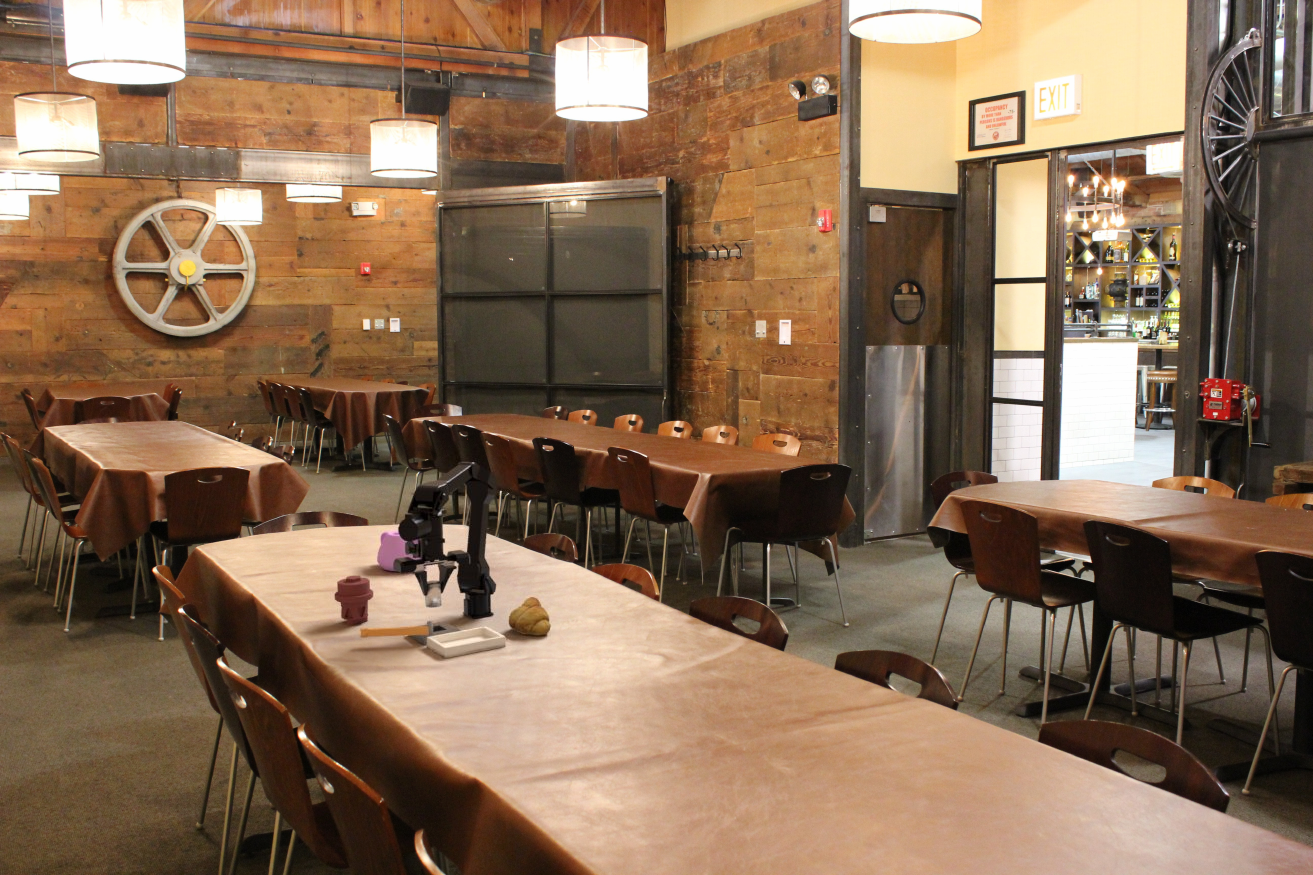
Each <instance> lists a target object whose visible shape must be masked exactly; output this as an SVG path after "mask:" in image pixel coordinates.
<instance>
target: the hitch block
mask: <svg viewBox="0 0 1313 875" xmlns="http://www.w3.org/2000/svg"><path fill="white" fill-rule="evenodd" d="M419 626H427V624H422V625H421V624H420V625H417V626H415V627H419ZM457 631H462V630H461V629H459V628H458V627H456V626H454V625H452V624H450V623H448V622H447V621H439V622H433V635H408V636H409V637H410V638H412V639H414V640H415V641H417V642H419V643H420V644H422V645H423V646H424V645H426V646H427V637H430V636H436V635H441V634H447V633H452V632H457Z"/></svg>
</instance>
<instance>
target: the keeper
mask: <svg viewBox="0 0 1313 875" xmlns="http://www.w3.org/2000/svg"><path fill="white" fill-rule="evenodd" d="M433 623H434V622H433V620H428V621H427V622H426V625H427V626H421V625H418V626H419V627H416V626H398V627H397V626H396V627H375V628H374V627H373V628H372V627H371V628H368V627H367V628H366V627H365V628H363V627H362V628H360V638H372V637H373V638H374V637H397V636H398V637H399V636H402V637H403V636H404V637H405V636H409V635H433Z"/></svg>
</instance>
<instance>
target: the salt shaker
mask: <svg viewBox="0 0 1313 875" xmlns="http://www.w3.org/2000/svg"><path fill="white" fill-rule="evenodd" d="M424 600H425V604H424V605H425V607H426V608H439V607H441V606H442V594H441V582H440V581H439V580H427V596H424Z"/></svg>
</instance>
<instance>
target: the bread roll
mask: <svg viewBox="0 0 1313 875" xmlns="http://www.w3.org/2000/svg"><path fill="white" fill-rule="evenodd" d="M508 625H509V627H510V628H511V629H512V630H514V631H516V632H518V633H520V634H522V635H532V636H543V635H547V634H548V633H549V632H550V630H551V626H552V625H551V622H550V615H549V614H548V611H547V610H546V609H545V608H544V607H543V606H542V603H541V601H540V600H539V599H538V598H536V597H533V596H532V597H531V596H530V597H528V598H526V599H525V600H524V602H523V603H522V604H521V605H520V606H518V607H517V608H515V609H514V610H512V611H511V612H510V614H509V616H508Z"/></svg>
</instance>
